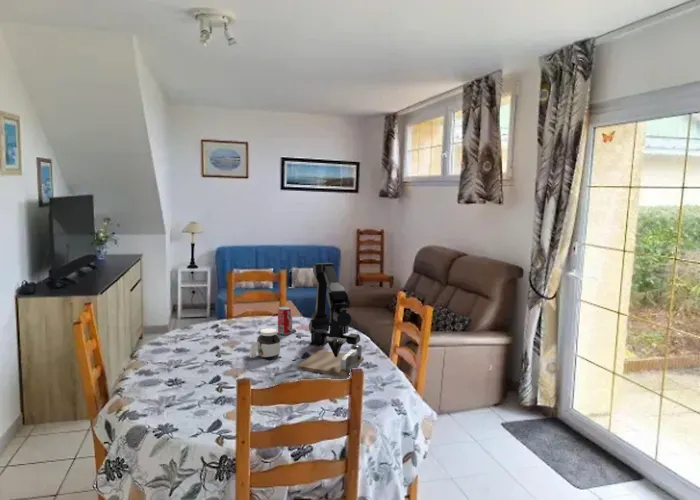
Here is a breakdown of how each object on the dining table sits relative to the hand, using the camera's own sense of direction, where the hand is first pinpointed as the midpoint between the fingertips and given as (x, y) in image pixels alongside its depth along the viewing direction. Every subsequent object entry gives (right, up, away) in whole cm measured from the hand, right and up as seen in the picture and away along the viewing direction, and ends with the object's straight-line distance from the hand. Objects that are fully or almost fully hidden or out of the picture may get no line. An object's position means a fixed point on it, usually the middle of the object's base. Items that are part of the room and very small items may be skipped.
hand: (336, 356), depth 203 cm
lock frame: (-2, -4, +4) cm, 6 cm away
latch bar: (+6, -3, +2) cm, 7 cm away
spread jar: (-32, -3, +11) cm, 33 cm away
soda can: (-27, +2, +45) cm, 53 cm away
